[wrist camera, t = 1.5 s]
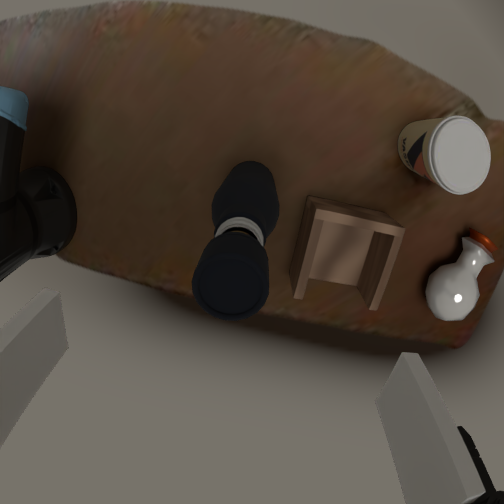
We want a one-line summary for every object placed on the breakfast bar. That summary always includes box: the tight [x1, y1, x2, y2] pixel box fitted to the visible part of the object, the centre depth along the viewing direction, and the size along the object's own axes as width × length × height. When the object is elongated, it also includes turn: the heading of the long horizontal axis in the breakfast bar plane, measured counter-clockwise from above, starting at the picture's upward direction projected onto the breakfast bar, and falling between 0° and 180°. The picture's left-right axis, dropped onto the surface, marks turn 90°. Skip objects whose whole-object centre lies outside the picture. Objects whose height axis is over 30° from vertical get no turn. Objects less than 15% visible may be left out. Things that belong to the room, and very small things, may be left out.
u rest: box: [289, 195, 405, 310], centre depth 43 cm, size 12×12×8 cm
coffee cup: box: [398, 116, 491, 194], centre depth 35 cm, size 9×9×12 cm
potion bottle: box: [425, 228, 498, 321], centre depth 43 cm, size 9×10×15 cm
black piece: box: [192, 161, 279, 321], centre depth 30 cm, size 6×6×30 cm
